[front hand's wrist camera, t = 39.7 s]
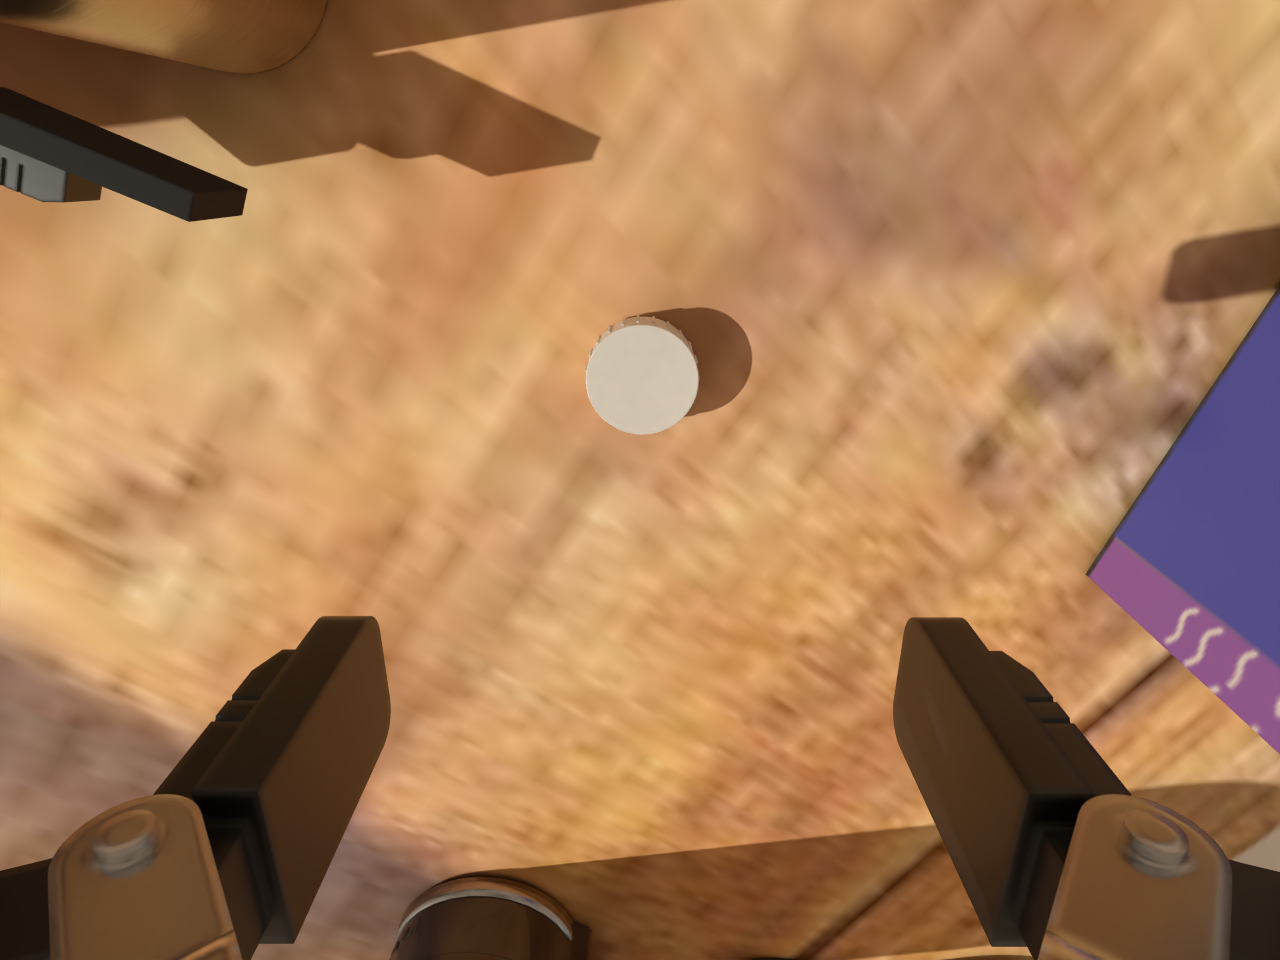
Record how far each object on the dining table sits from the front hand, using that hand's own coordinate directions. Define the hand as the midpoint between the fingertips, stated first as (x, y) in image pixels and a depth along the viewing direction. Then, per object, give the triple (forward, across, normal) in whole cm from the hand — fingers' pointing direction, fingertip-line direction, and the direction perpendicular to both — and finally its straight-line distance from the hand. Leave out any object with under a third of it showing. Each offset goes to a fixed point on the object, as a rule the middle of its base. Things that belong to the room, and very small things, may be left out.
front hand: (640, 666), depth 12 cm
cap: (+16, 0, 0) cm, 17 cm away
